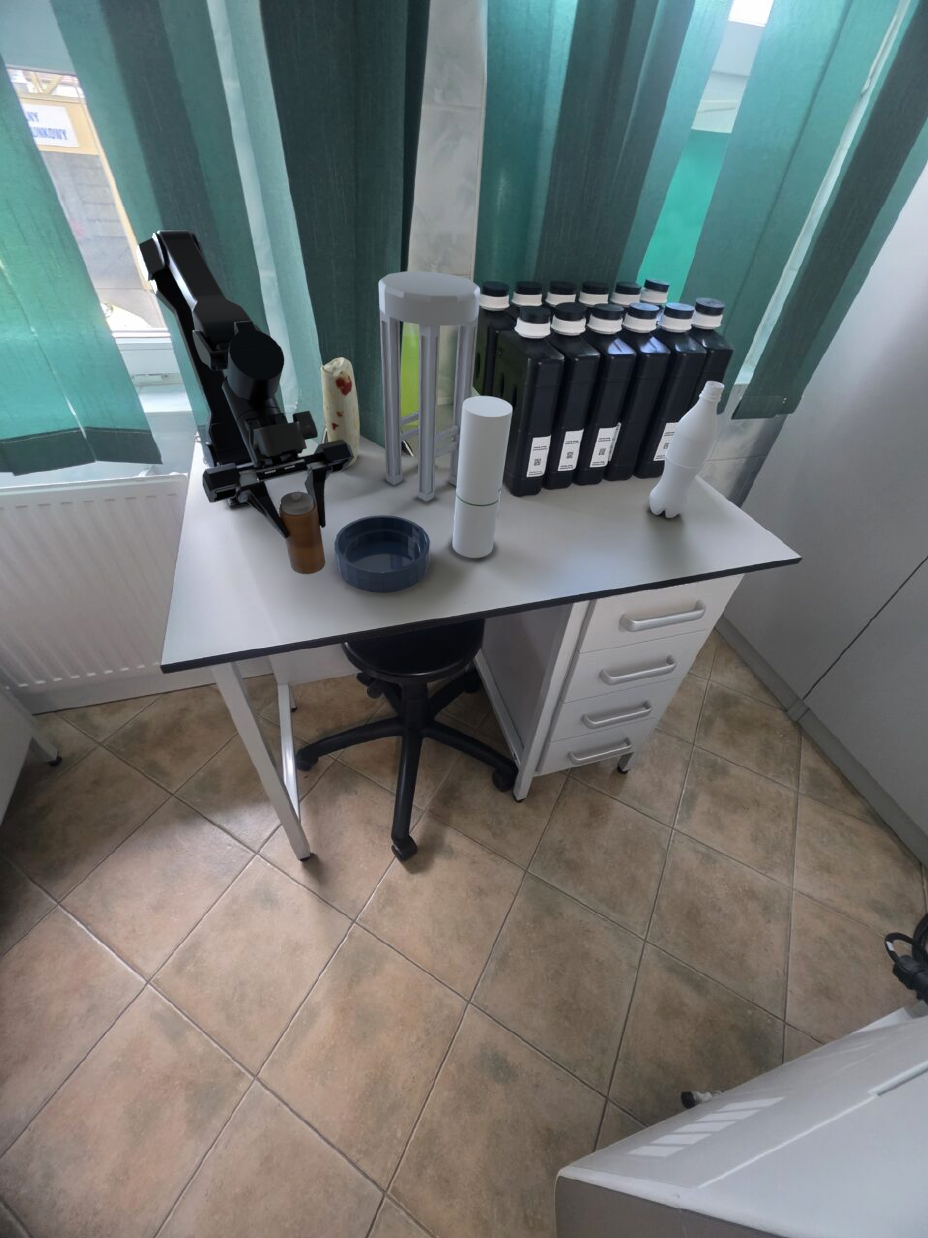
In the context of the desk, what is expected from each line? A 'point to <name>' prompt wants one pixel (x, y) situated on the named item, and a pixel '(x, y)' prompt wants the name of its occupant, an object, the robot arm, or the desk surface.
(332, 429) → the food model
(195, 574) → the desk surface
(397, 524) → the bowl
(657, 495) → the water bottle
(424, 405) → the stool
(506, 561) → the desk surface
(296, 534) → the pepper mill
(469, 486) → the cylindrical container
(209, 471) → the robot arm
